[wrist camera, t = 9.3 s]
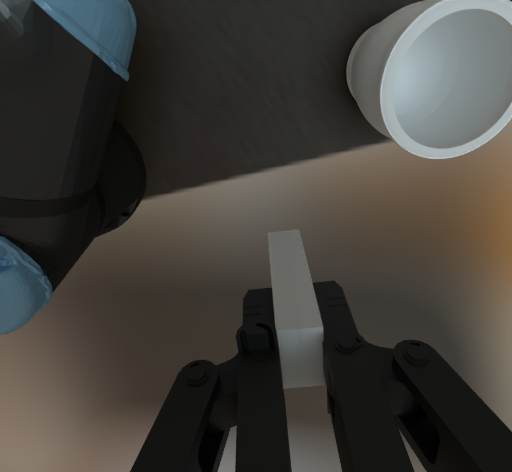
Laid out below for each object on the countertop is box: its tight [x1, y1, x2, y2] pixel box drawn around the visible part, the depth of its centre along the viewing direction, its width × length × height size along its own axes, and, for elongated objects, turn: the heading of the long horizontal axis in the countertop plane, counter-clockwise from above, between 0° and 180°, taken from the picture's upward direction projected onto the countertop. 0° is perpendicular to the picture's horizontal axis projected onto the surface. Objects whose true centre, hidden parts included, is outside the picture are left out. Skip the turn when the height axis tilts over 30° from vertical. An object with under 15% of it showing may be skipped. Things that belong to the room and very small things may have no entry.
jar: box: [346, 0, 512, 159], centre depth 31 cm, size 11×10×15 cm
